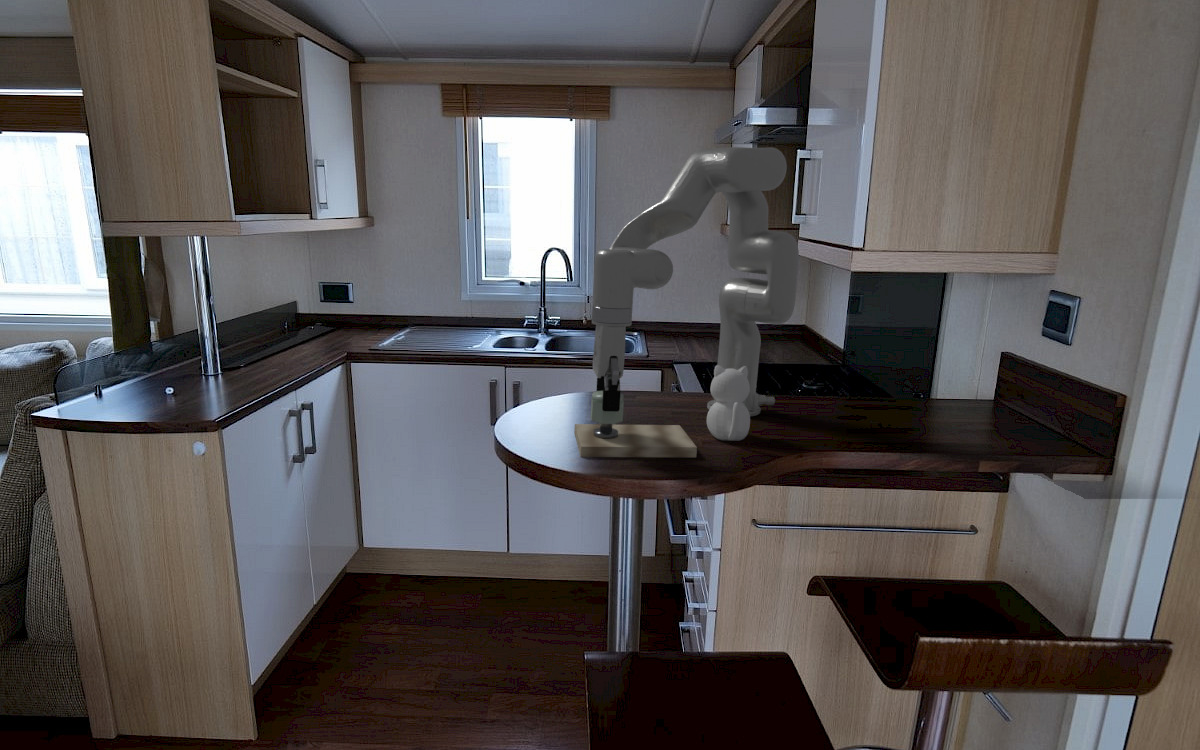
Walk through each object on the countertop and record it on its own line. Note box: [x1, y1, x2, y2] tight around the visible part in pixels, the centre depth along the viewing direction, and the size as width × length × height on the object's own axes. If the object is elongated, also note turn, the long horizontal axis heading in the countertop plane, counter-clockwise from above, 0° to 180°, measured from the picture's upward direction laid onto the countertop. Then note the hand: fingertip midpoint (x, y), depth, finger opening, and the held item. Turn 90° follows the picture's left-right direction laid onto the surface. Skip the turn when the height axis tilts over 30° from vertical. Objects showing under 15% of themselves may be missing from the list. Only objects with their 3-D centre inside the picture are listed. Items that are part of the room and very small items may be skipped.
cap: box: [590, 391, 625, 425], centre depth 128 cm, size 6×6×5 cm
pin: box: [593, 423, 618, 439], centre depth 129 cm, size 5×5×7 cm
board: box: [574, 423, 698, 458], centre depth 131 cm, size 22×14×2 cm, turn 97°
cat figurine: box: [706, 364, 751, 442], centre depth 137 cm, size 9×12×15 cm
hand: (607, 403), depth 128 cm, fingers open, 9 cm apart
